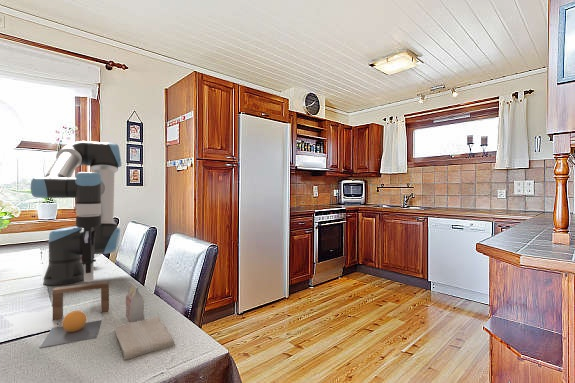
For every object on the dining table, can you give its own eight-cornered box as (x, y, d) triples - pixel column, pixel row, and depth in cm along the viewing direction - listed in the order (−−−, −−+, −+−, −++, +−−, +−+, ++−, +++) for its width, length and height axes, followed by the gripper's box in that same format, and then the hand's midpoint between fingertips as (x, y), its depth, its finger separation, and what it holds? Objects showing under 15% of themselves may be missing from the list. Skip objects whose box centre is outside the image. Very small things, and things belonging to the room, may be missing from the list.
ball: (59, 329, 79) (62, 337, 82) (84, 325, 81) (86, 332, 85) (62, 309, 82) (65, 317, 86) (86, 305, 85) (88, 313, 88)
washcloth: (157, 323, 90) (157, 313, 90) (176, 347, 76) (176, 335, 76) (112, 334, 83) (112, 323, 83) (123, 364, 68) (123, 350, 68)
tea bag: (138, 313, 96) (138, 281, 96) (143, 319, 91) (144, 287, 91) (125, 315, 94) (126, 284, 94) (130, 323, 89) (130, 289, 89)
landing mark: (52, 328, 85) (52, 328, 85) (101, 320, 90) (101, 320, 90) (39, 348, 74) (39, 347, 74) (96, 337, 80) (96, 337, 80)
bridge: (55, 317, 93) (55, 287, 93) (109, 309, 99) (109, 281, 99) (52, 320, 90) (52, 290, 90) (108, 312, 97) (108, 283, 97)
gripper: (79, 214, 111) (79, 277, 111) (72, 217, 99) (72, 288, 100) (103, 213, 114) (103, 274, 115) (98, 216, 102) (98, 285, 103)
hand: (88, 281), depth 107 cm, fingers closed
